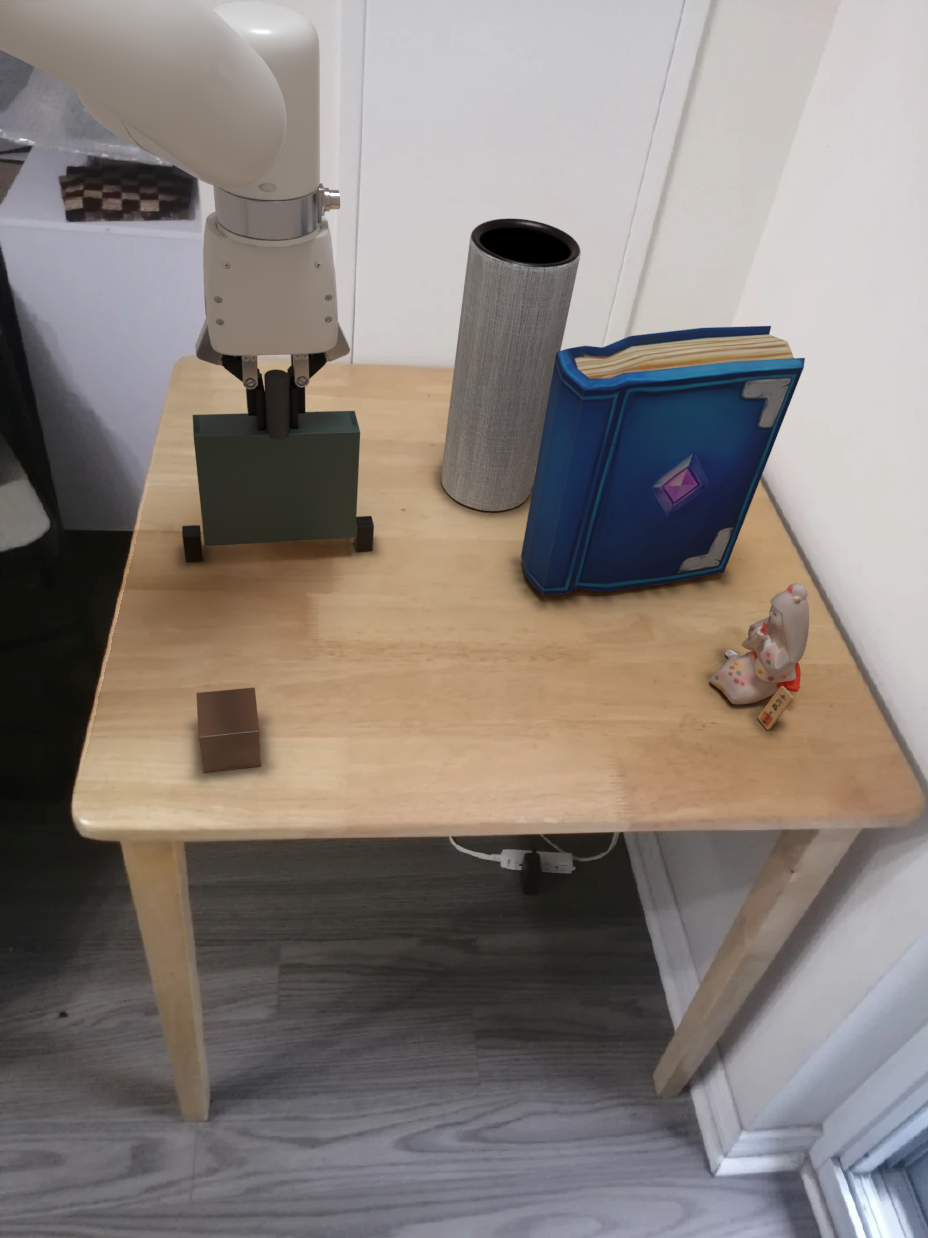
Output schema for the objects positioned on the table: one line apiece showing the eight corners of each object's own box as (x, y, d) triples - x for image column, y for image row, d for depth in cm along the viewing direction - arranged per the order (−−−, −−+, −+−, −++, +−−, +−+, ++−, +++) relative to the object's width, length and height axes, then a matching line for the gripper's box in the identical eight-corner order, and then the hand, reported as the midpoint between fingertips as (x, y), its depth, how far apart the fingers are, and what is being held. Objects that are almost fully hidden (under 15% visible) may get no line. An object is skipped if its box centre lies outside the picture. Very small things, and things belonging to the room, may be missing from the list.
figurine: (692, 659, 87) (748, 557, 80) (750, 657, 90) (810, 558, 82) (741, 732, 81) (807, 628, 73) (802, 727, 83) (872, 627, 76)
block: (203, 773, 72) (198, 737, 69) (200, 728, 75) (196, 692, 72) (261, 766, 73) (259, 731, 70) (256, 722, 76) (254, 687, 73)
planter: (515, 454, 107) (560, 217, 88) (542, 509, 101) (597, 265, 82) (430, 459, 105) (458, 216, 86) (453, 516, 98) (488, 266, 79)
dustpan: (186, 358, 77) (188, 383, 74) (356, 356, 80) (363, 380, 78) (203, 523, 89) (204, 549, 86) (350, 515, 92) (356, 540, 90)
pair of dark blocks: (185, 551, 89) (181, 525, 87) (370, 540, 94) (371, 515, 91) (185, 562, 88) (182, 536, 86) (372, 550, 93) (374, 525, 90)
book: (530, 609, 89) (584, 377, 72) (505, 560, 94) (550, 331, 76) (725, 579, 96) (818, 360, 78) (692, 535, 100) (773, 318, 83)
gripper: (367, 186, 73) (360, 392, 86) (152, 183, 69) (179, 399, 82) (385, 228, 68) (375, 440, 81) (154, 227, 64) (183, 450, 77)
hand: (276, 418), depth 81 cm, fingers closed on dustpan, 2 cm apart
